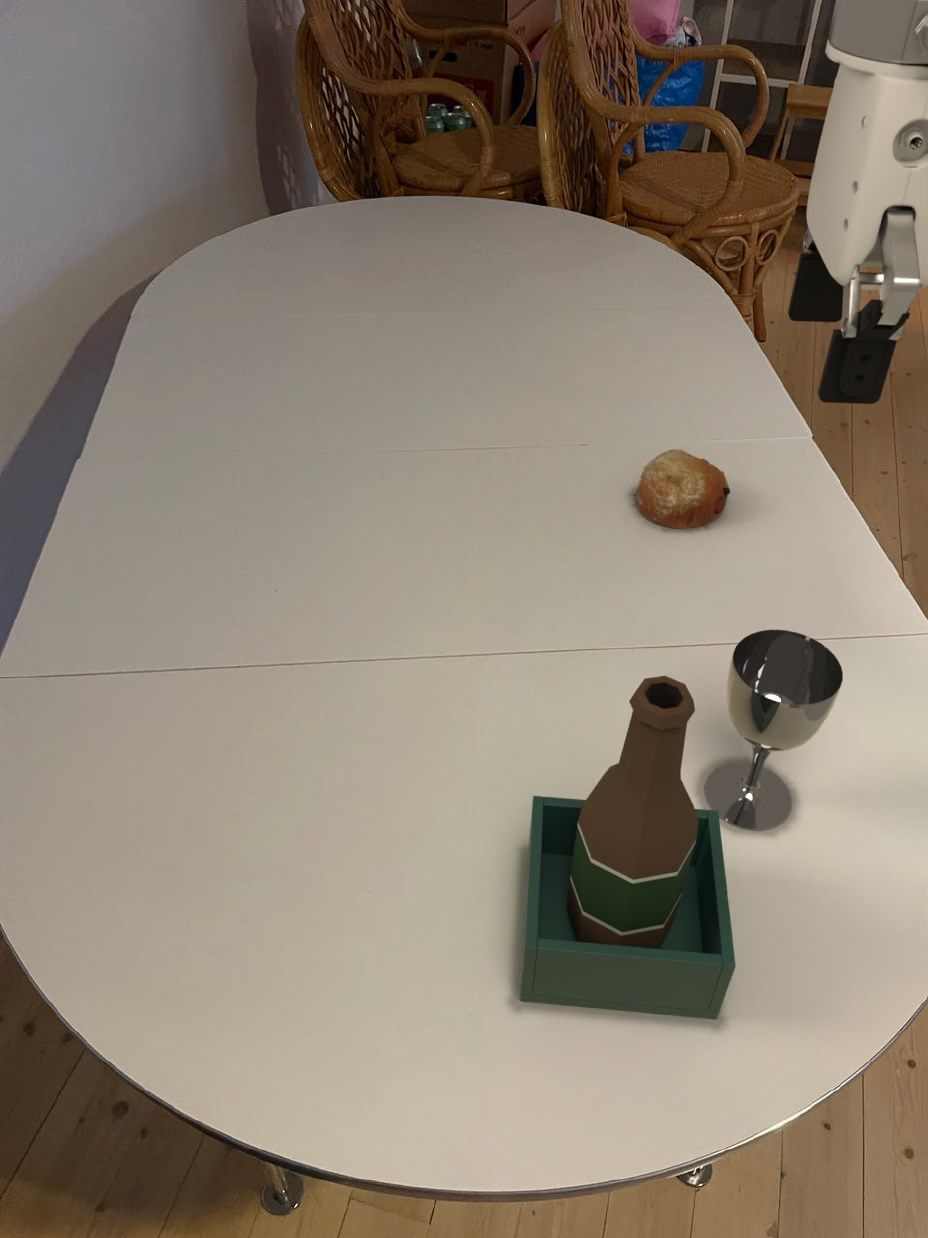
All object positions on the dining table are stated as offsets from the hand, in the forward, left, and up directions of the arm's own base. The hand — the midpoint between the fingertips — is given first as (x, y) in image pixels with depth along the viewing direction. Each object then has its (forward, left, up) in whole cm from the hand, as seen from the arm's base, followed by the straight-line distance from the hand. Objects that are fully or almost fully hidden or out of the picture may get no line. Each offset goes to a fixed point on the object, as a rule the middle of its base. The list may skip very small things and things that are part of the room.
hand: (829, 357), depth 60 cm
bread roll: (0, -41, -40) cm, 57 cm away
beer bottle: (+8, +14, -39) cm, 42 cm away
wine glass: (-3, 0, -40) cm, 40 cm away
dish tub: (+8, +14, -40) cm, 43 cm away
